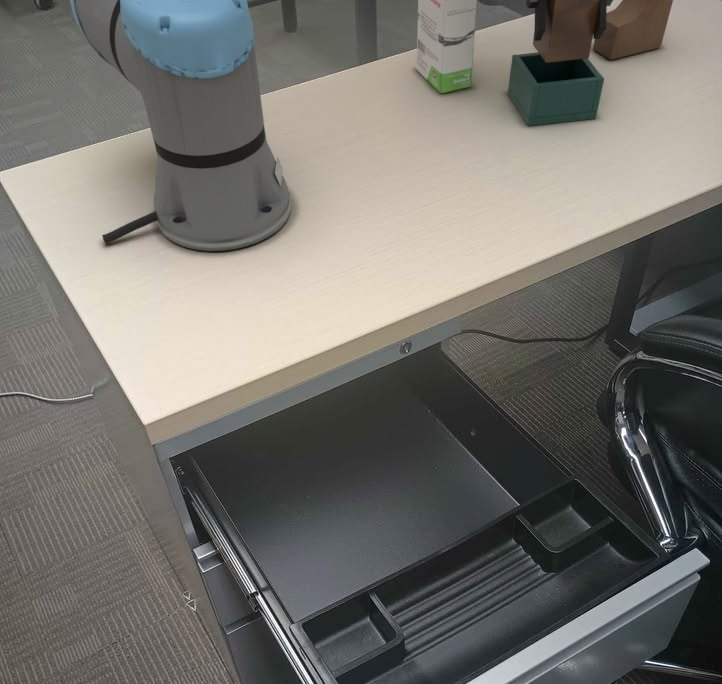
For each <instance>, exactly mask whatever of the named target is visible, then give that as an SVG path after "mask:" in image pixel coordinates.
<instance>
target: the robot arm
mask: <svg viewBox="0 0 722 684" xmlns="http://www.w3.org/2000/svg"><path fill="white" fill-rule="evenodd" d="M613 1H614V0H600V2H599V8H598V13H597V18H596V23H595V28H594V33H593V39H592V40H595V39H600V37H601V36H602V34H603V32H604V31H605V29H606V13H608V9H607V8H608V7H611V5H612V3H613ZM69 2H70V8H71V11H72V14H73V17H74V19H75V22H76V24H77V26H78V28H79V30H80V32H82V35H83V36H84V38H85V39H86V41H87V43H88V44H89V46H90V47H91V48H92V49H93V50H94V51H95V53H97V56H99V57H100V58H101V59H102V60H103V61H104V62H106V63H107V64H108V65H110V66H111V67H113V68H114V69H115V70H116V71H117V72H118V73H119V74H120V75H121V76H122V77H123V78H125V80H126V81H127V82H129V83H130V85H132V86H133V87H134V88H135V89H136V90H137V91H138V92H139V93H140V95H141V97H142V101H143V103H144V107H145V112H146V115H147V119H148V123H149V128H150V132H151V135H152V138H153V143H154V147H155V151H156V167H155V181H154V193H153V210H154V211H153V212H150V213H148V214H145V215H144V216H141V217H138V218H137V219H135V220H133V221H130V222H128V223H125V224H124V225H122V226H120V227H118V228H115V229H114V230H112V231H109V232H108V233H104V234H102V235H101V236H102V239H103V242H104V244H110V243H112V242H115V241H116V240H119V239H120V238H123V237H125V236H126V235H128V234H131V233H133V232H135V231H137V230H139V229H141V228H144V227H146V226H148V225H150V224H152V223H153V224H154V222H156V223H157V227H158V228H159V230H160V231H161V233H162V235H164V237H166V238H167V240H170V241H171V242H173V243H175V244H176V245H178V246H181V247H184V248H187V249H191V250H197V251H206V252H222V251H229V250H230V251H231V250H237V249H241V248H246V247H249V246H252V245H255V244H258V243H259V242H262V241H263V240H266V239H268V238H269V237H270V236H272V235H274V234H275V233H277V232H278V231H279V230H280V229H281V228H282V227H283V226H284V225H285V223H286V222H287V221H288V219H289V216H290V214H291V210H292V209H291V208H292V205H291V196H290V195H291V194H290V191H289V187H288V183H287V181H286V179H285V177H284V175H283V173H284V172H283V171H284V168H283V165H282V163H281V161H280V159H279V156H277V157H276V158H275V156H274V154H273V151H272V150H271V147H270V146H269V144H268V140H267V136H266V135H267V134H266V129H265V121H264V113H263V112H264V111H263V104H262V96H261V89H260V80H259V72H258V71H259V70H258V63H257V54H256V46H255V29H254V22H253V19H252V17H251V13H250V9H249V5H248V0H69ZM525 5H526V7H527V9H534V30H535V35H534V34H533V37H534V41H538V40H541V39H542V36H543V34H544V32H545V24H546V0H525Z"/></svg>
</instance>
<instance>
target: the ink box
mask: <svg viewBox="0 0 722 684" xmlns="http://www.w3.org/2000/svg"><path fill="white" fill-rule="evenodd" d="M477 5H478V0H418V1H417V30H416V31H417V32H416V33H417V34H416V35H417V37H416V39H417V40H416V41H417V42H416V68H415V70H416V71H417V72H418V73H419V74H421V76H422V77H424V79H425V80H426V81H427V82H428V83H430V85H431V86H432V87H433V88H434V89H435V90H436V91H437V92H438V93H439V94H444V93H448V92H453V91H458V90H462V89H466V88H470V87H472V79H473V77H472V76H473V63H474V49H475V33H476V18H477Z"/></svg>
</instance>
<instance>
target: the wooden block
mask: <svg viewBox="0 0 722 684" xmlns="http://www.w3.org/2000/svg"><path fill="white" fill-rule="evenodd" d="M673 3H674V0H621V2H620V3H619V4H618V5H617V6H616V8H614V9H612V10H610V11H607V12H606V29H605V31H604V32H603V34H602V36H601V37H600V39H593V45H592V48H593V50H594V51H596V52H597V53H599V54H600V55H602V56H603V57H605V58H606V59H608V60H610V61H612V60H616V59H621V58H624V57H627V56H628V57H629V56H633V55H636V54H640V53H645V52H647V51H652V50H657V49H660V48H661V47H662V44H663V41H664V36H665V33H666V29H667V25H668V22H669V18H670V13H671V10H672V7H673Z"/></svg>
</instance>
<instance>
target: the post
mask: <svg viewBox="0 0 722 684" xmlns="http://www.w3.org/2000/svg"><path fill="white" fill-rule="evenodd" d="M599 2H600V0H546V24H545V32H544V34H543V36H542V39H541V40H538V41H534V35H535V29H534V31H533V37H532V46H533V47H534V48H535V50H536V51H537V52H539V54H540V55H541V57H542V58H543V59H544V61H545V62H546V63H550V62H559V61H569V60H578V59H587V58H588V59H589V58H590V55H591V48H592V43H593V40H594V39H593V33H594V28H595V23H596V18H597V13H598V8H599Z"/></svg>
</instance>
